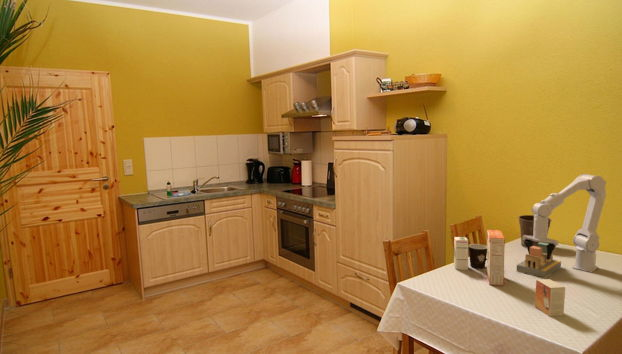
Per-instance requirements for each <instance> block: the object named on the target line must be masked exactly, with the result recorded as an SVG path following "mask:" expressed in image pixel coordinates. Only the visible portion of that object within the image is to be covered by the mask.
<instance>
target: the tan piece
mask: <svg viewBox="0 0 622 354" xmlns="http://www.w3.org/2000/svg"><path fill="white" fill-rule="evenodd" d="M552 260H554V251H553V252H552V254H551V257H550V259H549V260H547V253H542V256H541V257H540V258H539V257H537V256H532V255H529V254H528V253H525V259H524V261H525V266H527V267H528V266H530V267H531V268H533V267H535V268H536V269H539V268H541V267H542V266H544V265H546V264H547V263H549V262H550V261H552Z"/></svg>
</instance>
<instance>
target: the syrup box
mask: <svg viewBox="0 0 622 354" xmlns="http://www.w3.org/2000/svg"><path fill="white" fill-rule="evenodd" d="M453 239H454V240H453V244H454V246H453V251H454V252H453V266H454V269H455V270H461V271H468V270H469V247H468V246H469V239H468V238H467V237H464V236H454V237H453Z"/></svg>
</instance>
